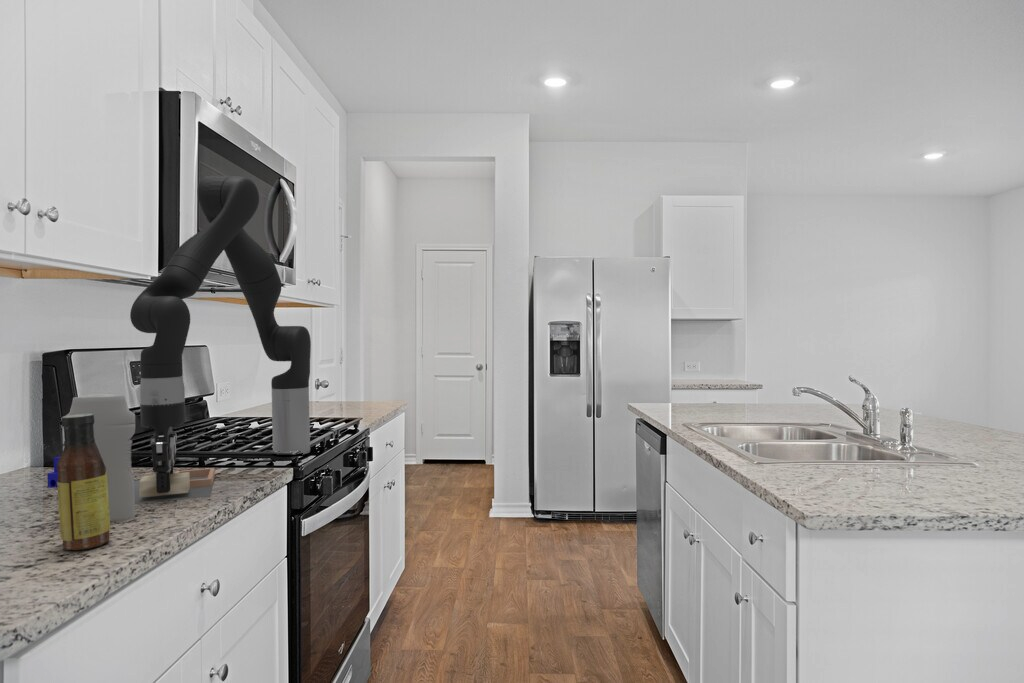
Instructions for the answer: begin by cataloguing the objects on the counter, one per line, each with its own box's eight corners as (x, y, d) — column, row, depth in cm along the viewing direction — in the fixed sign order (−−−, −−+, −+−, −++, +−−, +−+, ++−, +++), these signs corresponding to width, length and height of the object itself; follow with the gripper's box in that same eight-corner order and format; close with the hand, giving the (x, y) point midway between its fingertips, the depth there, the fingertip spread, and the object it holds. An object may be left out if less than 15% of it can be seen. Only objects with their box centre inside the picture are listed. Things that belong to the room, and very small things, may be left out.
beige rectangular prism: (139, 497, 117) (139, 481, 117) (143, 491, 121) (142, 476, 121) (187, 492, 120) (187, 477, 120) (189, 487, 124) (189, 472, 124)
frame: (175, 478, 136) (175, 471, 136) (214, 474, 139) (214, 467, 139) (169, 490, 126) (169, 482, 126) (211, 486, 129) (211, 478, 128)
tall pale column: (61, 529, 103) (57, 395, 102) (71, 522, 107) (67, 393, 106) (134, 523, 106) (130, 393, 105) (141, 516, 110) (138, 390, 109)
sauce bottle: (119, 537, 99) (116, 411, 98) (94, 552, 92) (90, 417, 92) (76, 538, 98) (73, 412, 98) (48, 553, 92) (44, 418, 92)
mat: (132, 483, 133) (132, 481, 133) (215, 476, 139) (215, 474, 139) (113, 508, 115) (113, 505, 115) (210, 498, 121) (210, 496, 121)
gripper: (180, 403, 115) (183, 496, 116) (188, 395, 128) (190, 478, 129) (133, 406, 112) (136, 501, 113) (146, 397, 125) (148, 482, 126)
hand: (165, 488), depth 121 cm, fingers closed on beige rectangular prism, 4 cm apart
